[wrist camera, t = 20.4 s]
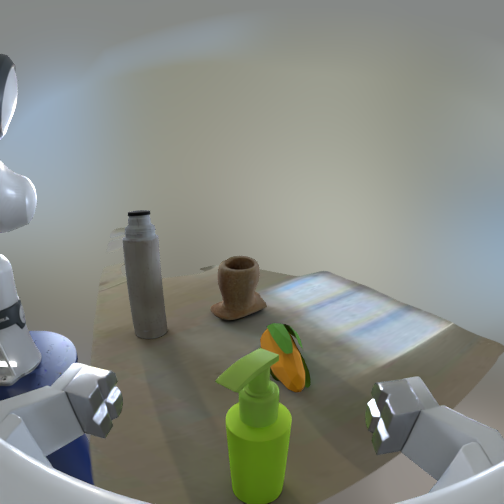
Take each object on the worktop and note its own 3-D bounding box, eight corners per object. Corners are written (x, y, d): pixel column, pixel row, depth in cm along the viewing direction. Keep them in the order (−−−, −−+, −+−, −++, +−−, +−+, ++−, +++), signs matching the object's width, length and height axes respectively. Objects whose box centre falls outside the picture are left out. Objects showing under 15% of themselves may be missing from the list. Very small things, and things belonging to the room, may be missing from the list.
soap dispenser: (216, 493, 25) (194, 365, 20) (252, 462, 30) (252, 331, 26) (256, 518, 21) (259, 397, 17) (292, 481, 27) (311, 351, 22)
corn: (290, 310, 59) (327, 364, 40) (291, 342, 61) (324, 401, 41) (254, 315, 58) (277, 374, 39) (257, 347, 60) (278, 411, 40)
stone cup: (231, 329, 67) (229, 268, 64) (205, 313, 76) (202, 257, 73) (278, 312, 76) (280, 257, 73) (250, 299, 85) (249, 249, 82)
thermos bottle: (140, 322, 69) (128, 210, 62) (170, 323, 69) (161, 208, 63) (130, 337, 61) (114, 213, 55) (163, 339, 61) (151, 211, 55)
